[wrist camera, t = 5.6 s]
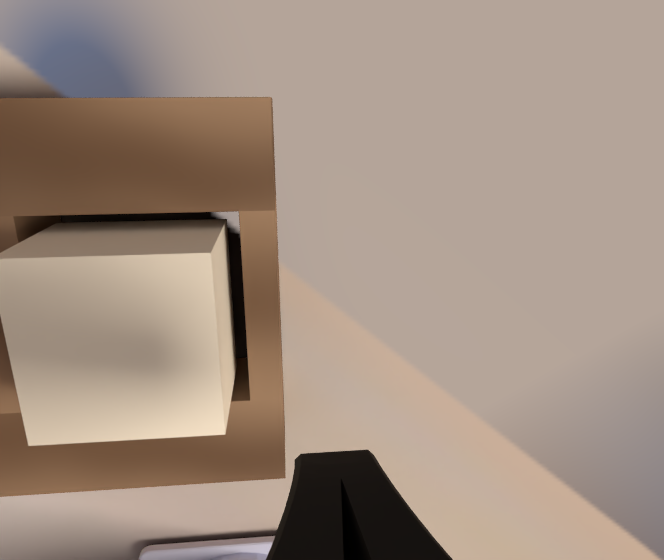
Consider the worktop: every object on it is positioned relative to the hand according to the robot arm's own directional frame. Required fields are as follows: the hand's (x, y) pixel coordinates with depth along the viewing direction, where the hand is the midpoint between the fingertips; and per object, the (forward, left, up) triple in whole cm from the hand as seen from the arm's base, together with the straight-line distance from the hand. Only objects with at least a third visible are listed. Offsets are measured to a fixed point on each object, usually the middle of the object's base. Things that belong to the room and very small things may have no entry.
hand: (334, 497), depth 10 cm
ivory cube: (+1, +5, -8) cm, 10 cm away
